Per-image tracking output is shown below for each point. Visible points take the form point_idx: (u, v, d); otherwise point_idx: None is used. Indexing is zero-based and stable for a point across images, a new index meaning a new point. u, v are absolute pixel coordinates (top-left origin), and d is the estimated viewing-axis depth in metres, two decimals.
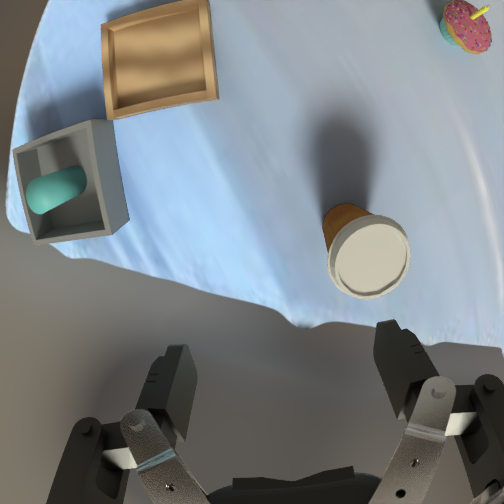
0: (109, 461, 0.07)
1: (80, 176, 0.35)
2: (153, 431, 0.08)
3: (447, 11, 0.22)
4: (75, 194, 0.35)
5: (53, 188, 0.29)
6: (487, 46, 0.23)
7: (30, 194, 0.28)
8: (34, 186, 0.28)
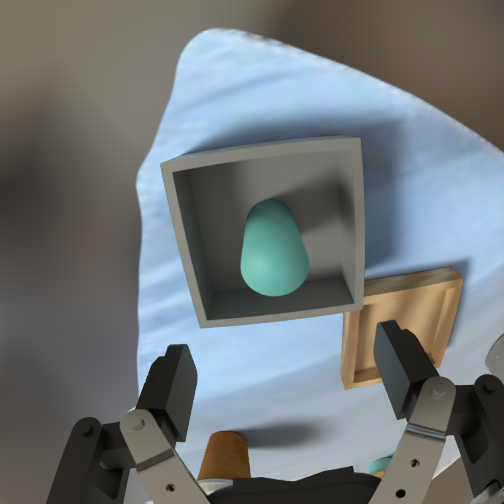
0: (109, 461, 0.07)
1: None
2: (153, 431, 0.08)
3: None
4: None
5: None
6: None
7: (281, 248, 0.19)
8: (295, 261, 0.19)
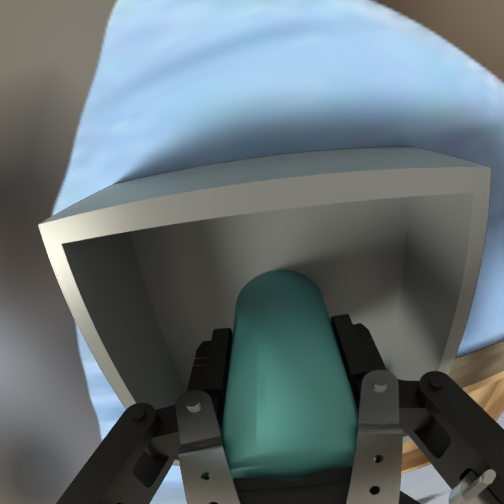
0: (155, 449, 0.08)
1: None
2: (213, 410, 0.08)
3: None
4: None
5: None
6: None
7: (313, 463, 0.06)
8: None
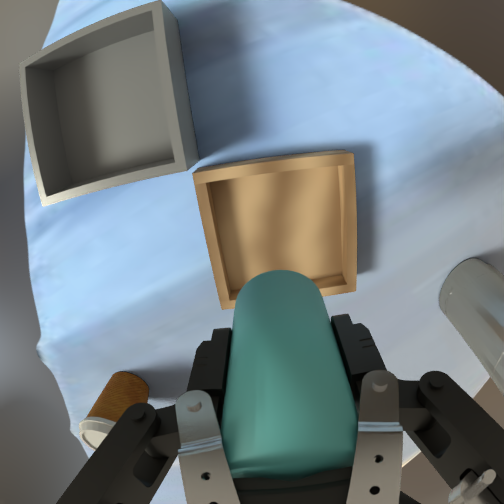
0: (155, 449, 0.08)
1: None
2: (213, 410, 0.08)
3: None
4: None
5: None
6: None
7: (312, 463, 0.06)
8: None
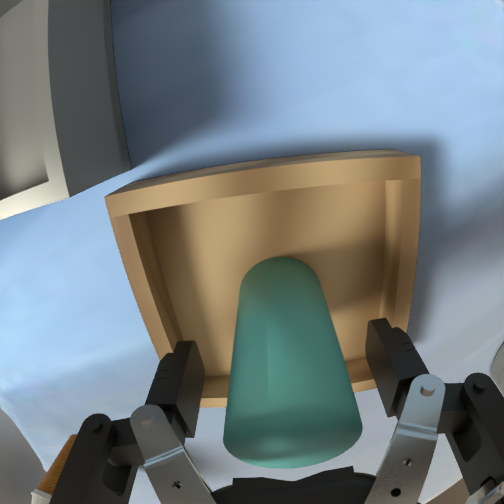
0: (117, 458, 0.08)
1: None
2: (164, 426, 0.08)
3: None
4: None
5: None
6: None
7: (309, 422, 0.07)
8: (335, 434, 0.08)
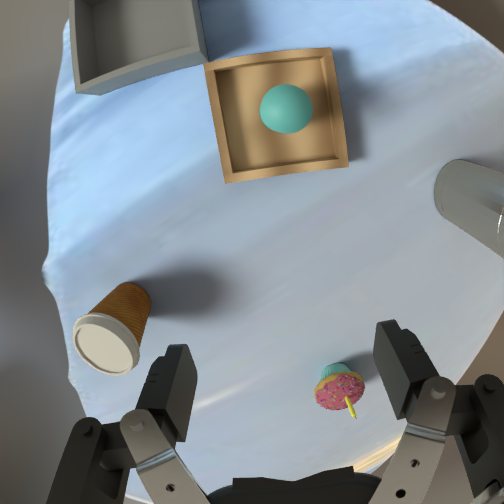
0: (109, 461, 0.07)
1: None
2: (153, 431, 0.08)
3: (348, 377, 0.42)
4: (267, 126, 0.30)
5: None
6: (324, 407, 0.44)
7: (290, 94, 0.23)
8: (301, 104, 0.23)
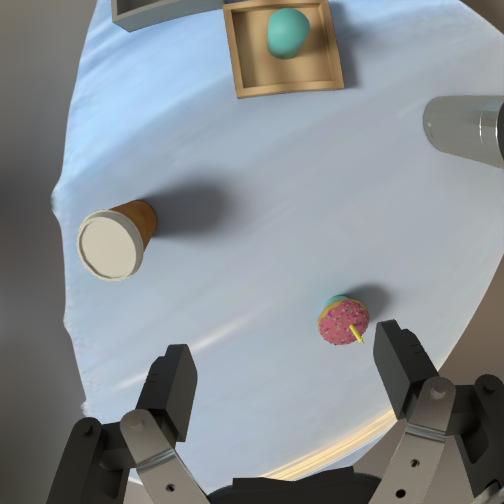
0: (109, 461, 0.07)
1: (290, 56, 0.33)
2: (153, 431, 0.08)
3: (352, 303, 0.44)
4: (273, 51, 0.31)
5: (295, 43, 0.26)
6: (328, 340, 0.46)
7: (291, 15, 0.24)
8: (301, 22, 0.25)
